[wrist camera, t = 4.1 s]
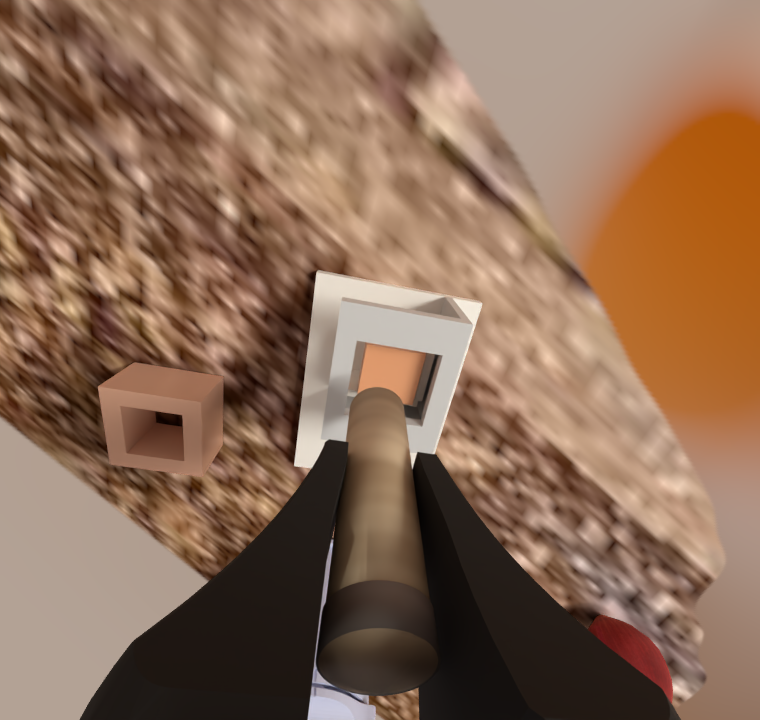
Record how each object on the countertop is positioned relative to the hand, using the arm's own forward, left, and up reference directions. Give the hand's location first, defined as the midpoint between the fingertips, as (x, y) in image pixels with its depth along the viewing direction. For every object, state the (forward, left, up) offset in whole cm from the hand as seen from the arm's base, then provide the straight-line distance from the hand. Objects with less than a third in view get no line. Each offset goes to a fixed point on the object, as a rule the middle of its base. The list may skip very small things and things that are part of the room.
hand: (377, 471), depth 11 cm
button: (0, -1, -8) cm, 8 cm away
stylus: (0, 0, -3) cm, 3 cm away
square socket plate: (-3, -1, -10) cm, 11 cm away
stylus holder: (-6, +11, -10) cm, 17 cm away
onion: (-22, -25, -11) cm, 35 cm away
